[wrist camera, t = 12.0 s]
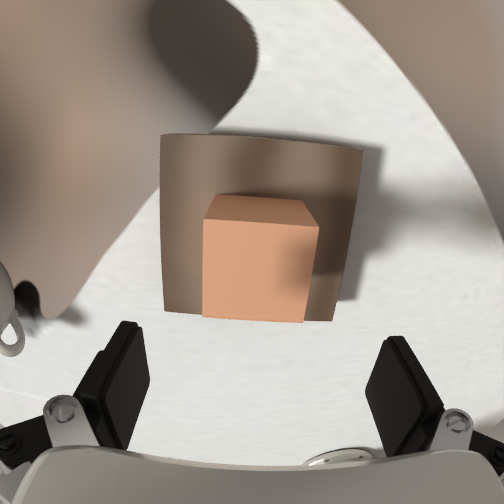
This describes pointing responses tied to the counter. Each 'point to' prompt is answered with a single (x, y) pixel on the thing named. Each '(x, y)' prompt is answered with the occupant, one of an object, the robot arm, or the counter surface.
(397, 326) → the counter surface
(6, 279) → the teacup
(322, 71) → the counter surface
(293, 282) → the terracotta cube
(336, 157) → the walnut base
